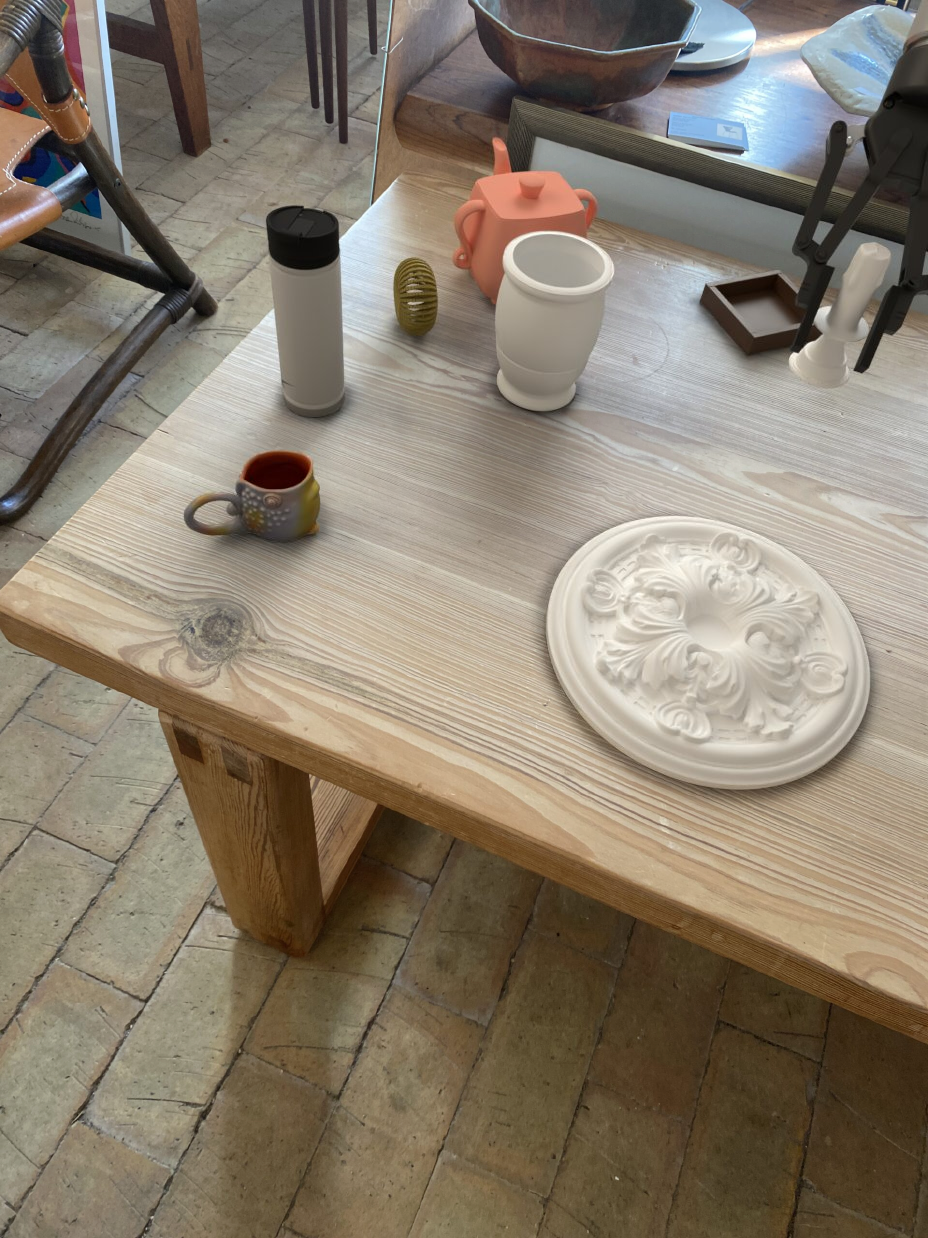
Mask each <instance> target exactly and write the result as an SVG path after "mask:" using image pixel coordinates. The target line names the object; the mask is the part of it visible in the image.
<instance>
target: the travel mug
mask: <svg viewBox="0 0 928 1238" xmlns="http://www.w3.org/2000/svg"><path fill="white" fill-rule="evenodd" d="M265 226H266V237H267V242H268V243H267V245H268V249H267V251H268V252H267V253H268V263H269V272H270V281H271V291H272V301H273V303H272V304H273V312H274V322H275V332H276V341H277V342H276V343H277V352H278V360H279V372H280V380H281V390H282V391H281V392H282V399H283V402H284V404H285V406H286V407H287V408H288V409H289V410H290V411H292V412H293V413H295V414H297V415H299V416H303V417H307V418H320V417H321V418H322V417H326V416H329V415H332V414H334V413H335V412H337V411H338V410H339V409H340V408H341V407H342V405H343V404H344V402H345V399H346V398H345V397H346V391H345V389H346V387H345V361H344V357H345V355H344V325H343V296H342V293H343V291H342V263H341V262H342V260H341V259H342V258H341V247H340V222H339V219H338V218H337V217H336V215H334V214H333V213H332V212H329V211H327V210H320V209H316V208H309V207H305V206H304V205H299V204H297V205H296V204H293V205H284V206H281V207H277V208H275V209H273V210H271V211H270V212H268V214H267V215H266V217H265Z"/></svg>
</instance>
